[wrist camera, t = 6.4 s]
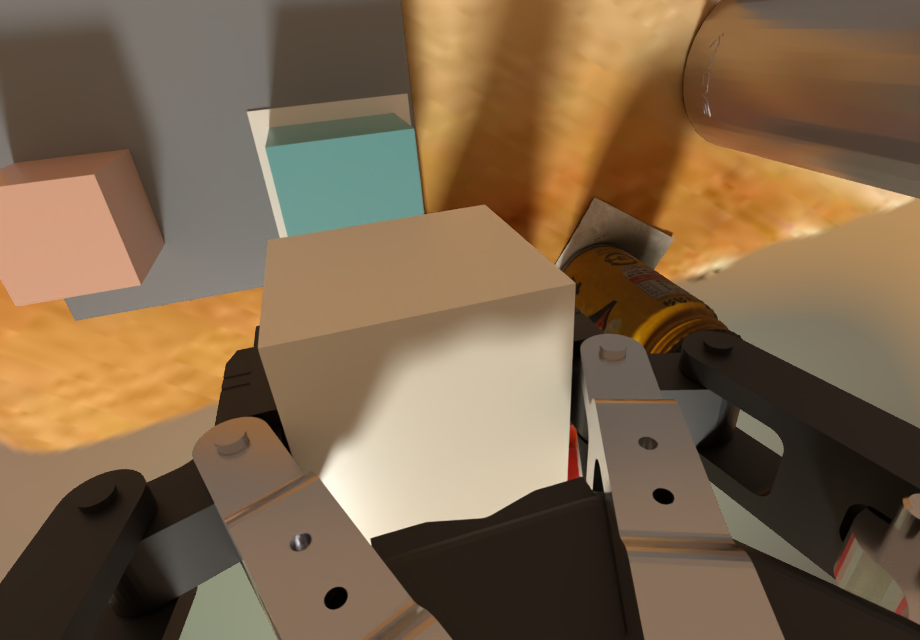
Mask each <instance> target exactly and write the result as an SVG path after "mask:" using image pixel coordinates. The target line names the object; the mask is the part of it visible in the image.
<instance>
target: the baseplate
mask: <svg viewBox="0 0 920 640" xmlns="http://www.w3.org/2000/svg"><path fill="white" fill-rule="evenodd" d="M388 113H395V114H396V115H397V116H399V117H400V118H401V119H403V120H404V121H405V122H406V123H408V124H409V125H410V126H412V127H413V128H414V132H415V124H414V115H413V106H412V97H411V88H410V79H409V70H408V61H407V51H406V42H405V33H404V24H403V15H402V6H401V0H0V169H2V168H4V167H6V166H8V165H11V164H13V163H18V162H26V161H34V160H42V159H51V158H59V157H67V156H75V155H83V154H92V153H100V152H108V151H116V150H125V149H129V151H130V153H131V156H132V159H133V161H134V164H135V166H136V169H137V172H138V174H139V177H140V179H141V182H142V185H143V187H144V190H145V193H146V195H147V198H148V200H149V203H150V206H151V208H152V211H153V214H154V216H155V219H156V221H157V224H158V227H159V229H160V232H161V234H162V237H163V240H164V242H165V245H164V247H163V248H162V250H161V252H160V254H159V255H158V257H157V259H156V260H155V262H154V264H153V266H152V267H151V269H150V271H149V273H148V274H147V276H146V278H145V279H144V281H143V283H142V285H139V286H133V287H128V288H122V289H116V290H110V291H104V292H98V293H93V294H87V295H81V296H75V297H69V298H64V300H65V302H66V303H67V305H68V307H69V309H70V311H71V313H72V315H73V317H74V319H75V321H77V320H82V319H88V318H93V317H99V316H104V315H110V314H115V313H121V312H127V311H132V310H138V309H143V308H149V307H154V306H160V305H165V304H171V303H176V302H182V301H188V300H193V299H199V298H204V297H210V296H215V295H221V294H226V293H232V292H237V291H243V290H249V289H254V288H260V287H263V286H264V275H265V264H266V254H267V243H268V240H272V239H278V238H284V237H288V236H287V232H286V228H285V224H284V220H283V216H282V212H281V208H280V204H279V200H278V196H277V192H276V189H275V185H274V181H273V177H272V173H271V169H270V165H269V161H268V157H267V153H266V149H265V145H266V141H267V136H268V131H269V128H271V127H279V126H288V125H296V124H304V123H313V122H321V121H329V120H338V119H346V118H354V117H363V116H371V115H379V114H388ZM415 141H416V133H415ZM416 150H417V142H416ZM417 159H418V151H417ZM418 168H419V160H418ZM419 176H420V169H419ZM420 185H421V178H420ZM421 194H422V187H421ZM422 203H423V196H422ZM423 212H424V205H423Z"/></svg>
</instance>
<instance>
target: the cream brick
mask: <svg viewBox="0 0 920 640" xmlns="http://www.w3.org/2000/svg"><path fill="white" fill-rule="evenodd" d="M575 289H576V283H575V282H574V281H573V280H571V279H570V278H569V277H568V276H567V275H566V274H565V273H563V272H562V271H561V270H560V269H559V268H558V267H556V266H555V265H554V264H553V263H552V262H551V261H550V260H548V259H547V258H546V257H545V256H544V255H543V254H541V253H540V252H539V251H538V250H537V249H536V248H535V247H533V246H532V245H531V244H530V243H529V242H528V241H526V240H525V239H524V238H523V237H522V236H521V235H520V234H518V233H517V232H516V231H515V230H514V229H513V228H512V227H510V226H509V225H508V224H507V223H506V222H505V221H503V220H502V219H501V218H500V217H499V216H498V215H497V214H495V213H494V212H493V211H492V210H491V209H490V208H488V207H487V206H486V205H479V206H473V207H466V208H460V209H454V210H448V211H442V212H436V213H430V214H424V215H418V216H412V217H406V218H399V219H393V220H387V221H381V222H375V223H369V224H363V225H357V226H351V227H345V228H339V229H333V230H326V231H320V232H314V233H308V234H302V235H296V236H290V237H284V238H278V239H272V240H268V243H267V254H266V264H265V275H264V286H263V297H262V308H261V318H260V329H259V340H258V351H259V354H260V357H261V360H262V363H263V366H264V370H265V373H266V376H267V379H268V382H269V385H270V388H271V391H272V394H273V398H274V401H275V404H276V407H277V410H278V413H279V416H280V419H281V423H282V426H283V429H284V432H285V435H286V438H287V441H288V444H289V447H290V451H291V454H292V457H293V459H294V460H295V461H296V463H297V464H298V466H299V467H300V468H301V470H302V471H303V472H304V474H307V473H309V472H311V471H312V472H314V473H315V474H316V475H317V476H318V477H319V478H320V480H321V481H322V482H323V484H324V485H325V486H326V487H327V489H328V490H329V491H330V493H331V494H332V495H333V497H334V498H335V499H336V501H337V502H338V503H339V504H340V506H341V507H342V508H343V510H344V511H345V512H346V514H347V515H348V516H349V517H350V519H351V520H352V521H353V523H354V524H355V525H356V527H357V528H358V529H359V530H360V532H361V533H362V534H363V536H364V537H365V538H366V540H367V541H368V542H369V544H370V545H371V540H370V538H373V537H376V536H380V535H383V534H387V533H390V532H393V531H397V530H400V529H404V528H407V527H411V526H414V525H417V524H421V523H424V522H433V521H448V520H463V519H477V518H485V517H488V516H490V515H492V514H494V513H496V512H497V511H499V510H501V509H503V508H504V507H506V506H508V505H510V504H511V503H513V502H515V501H517V500H518V499H520V498H522V497H524V496H526V495H527V494H529V493H531V492H533V491H534V490H538V489H541V488H545V487H548V486H552V485H555V484H558V483H562V482H565V481H567V476H568V453H569V430H570V406H571V383H572V359H573V336H574V312H575Z"/></svg>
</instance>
